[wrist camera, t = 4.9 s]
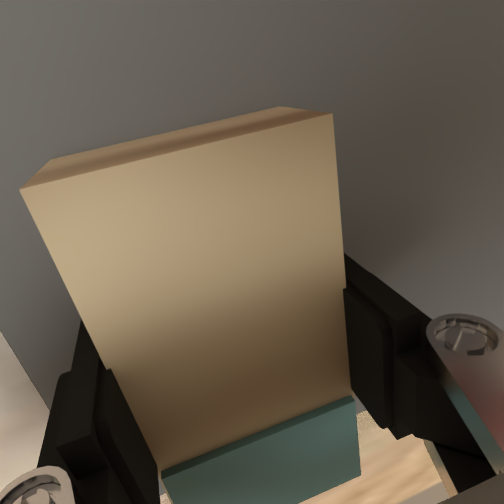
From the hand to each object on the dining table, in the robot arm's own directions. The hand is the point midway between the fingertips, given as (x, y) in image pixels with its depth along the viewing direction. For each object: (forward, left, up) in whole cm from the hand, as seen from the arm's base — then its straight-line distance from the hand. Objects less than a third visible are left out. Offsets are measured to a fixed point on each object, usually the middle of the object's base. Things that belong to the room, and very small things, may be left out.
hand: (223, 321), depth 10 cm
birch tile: (0, 0, 0) cm, 0 cm away
